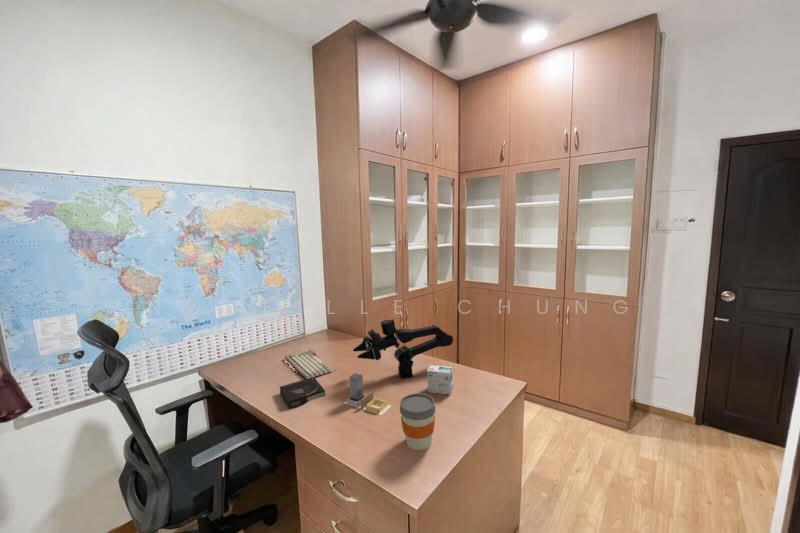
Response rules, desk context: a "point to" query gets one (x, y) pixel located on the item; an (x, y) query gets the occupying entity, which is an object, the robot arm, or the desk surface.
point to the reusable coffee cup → (418, 420)
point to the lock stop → (356, 387)
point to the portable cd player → (301, 392)
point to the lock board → (370, 404)
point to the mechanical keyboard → (308, 364)
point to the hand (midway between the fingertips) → (355, 353)
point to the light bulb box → (440, 379)
